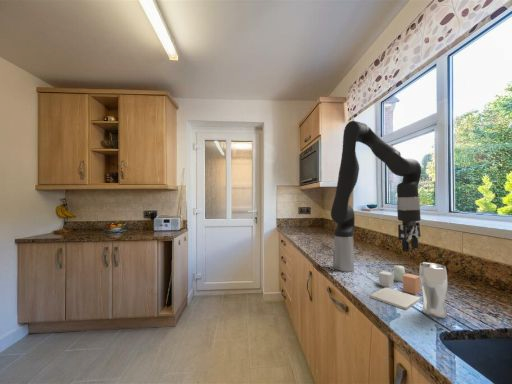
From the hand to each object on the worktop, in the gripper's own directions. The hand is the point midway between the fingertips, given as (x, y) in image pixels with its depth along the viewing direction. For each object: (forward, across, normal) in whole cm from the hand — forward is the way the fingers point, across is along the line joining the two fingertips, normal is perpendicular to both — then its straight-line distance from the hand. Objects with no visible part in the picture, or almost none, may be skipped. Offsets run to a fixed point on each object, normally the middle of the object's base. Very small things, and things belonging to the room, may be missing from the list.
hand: (410, 249), depth 88 cm
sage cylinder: (+16, -9, -8) cm, 20 cm away
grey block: (+16, +1, -9) cm, 19 cm away
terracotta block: (+16, 0, 0) cm, 16 cm away
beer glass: (+16, +14, +11) cm, 24 cm away
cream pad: (+16, +12, -1) cm, 20 cm away
